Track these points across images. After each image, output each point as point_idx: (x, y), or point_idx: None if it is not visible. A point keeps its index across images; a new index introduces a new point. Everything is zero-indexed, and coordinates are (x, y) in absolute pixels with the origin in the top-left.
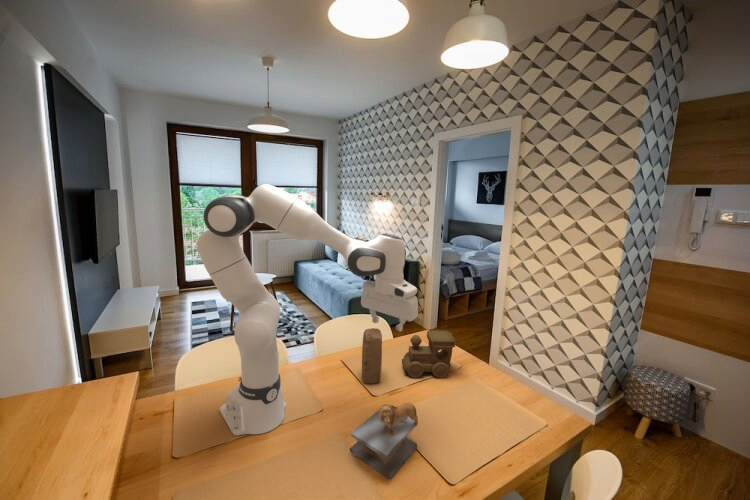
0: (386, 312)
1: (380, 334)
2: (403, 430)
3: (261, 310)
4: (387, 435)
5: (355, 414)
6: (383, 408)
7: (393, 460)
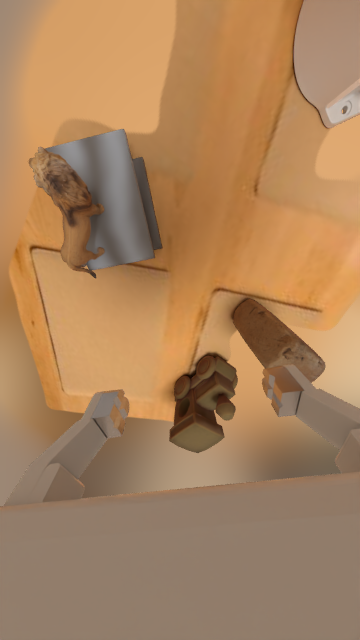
0: (168, 529)
1: None
2: None
3: None
4: None
5: (205, 235)
6: (37, 158)
7: None
